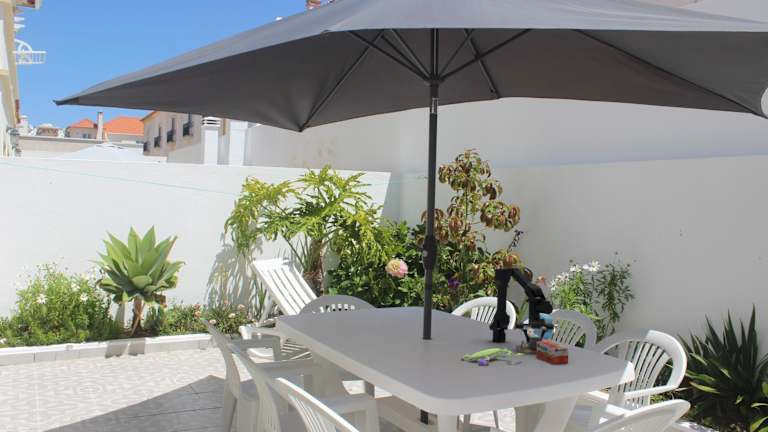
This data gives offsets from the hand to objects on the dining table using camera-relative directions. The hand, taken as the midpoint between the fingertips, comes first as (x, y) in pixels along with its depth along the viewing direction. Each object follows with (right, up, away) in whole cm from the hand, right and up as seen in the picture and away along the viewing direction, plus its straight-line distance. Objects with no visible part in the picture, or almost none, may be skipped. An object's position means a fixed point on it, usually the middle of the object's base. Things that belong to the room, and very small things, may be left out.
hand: (533, 342), depth 337 cm
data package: (+13, -4, +37) cm, 39 cm away
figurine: (-24, -5, -22) cm, 33 cm away
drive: (0, -2, 0) cm, 2 cm away
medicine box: (+4, -5, -21) cm, 22 cm away
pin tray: (0, -4, 0) cm, 4 cm away
